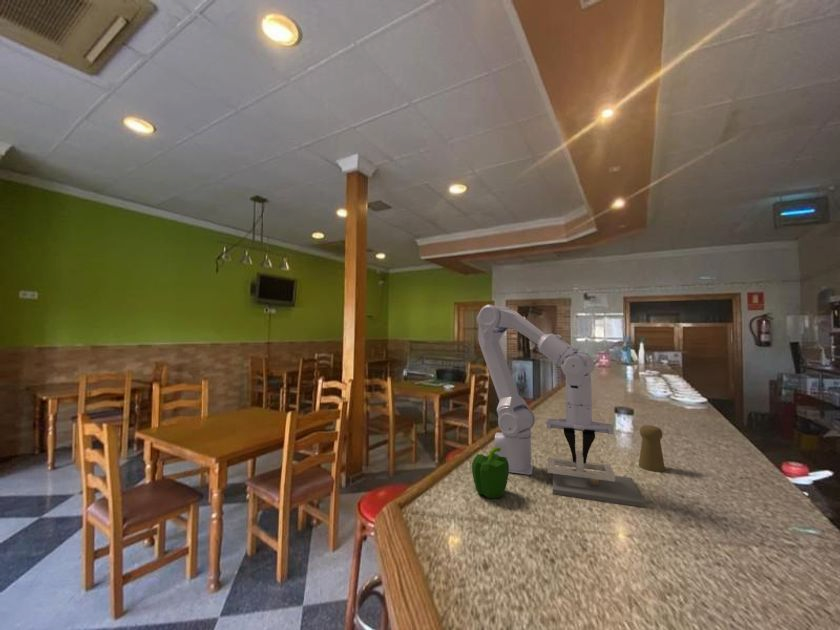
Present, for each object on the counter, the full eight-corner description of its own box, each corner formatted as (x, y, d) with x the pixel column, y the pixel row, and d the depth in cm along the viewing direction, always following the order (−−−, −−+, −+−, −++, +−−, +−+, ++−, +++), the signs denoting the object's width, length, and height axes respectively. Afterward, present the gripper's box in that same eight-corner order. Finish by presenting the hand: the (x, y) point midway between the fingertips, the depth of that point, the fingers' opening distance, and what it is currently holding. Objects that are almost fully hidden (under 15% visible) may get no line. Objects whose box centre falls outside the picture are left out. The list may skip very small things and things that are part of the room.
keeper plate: (552, 493, 83) (552, 478, 83) (552, 471, 96) (552, 458, 96) (645, 507, 76) (644, 491, 77) (631, 481, 90) (631, 468, 90)
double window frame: (547, 472, 86) (547, 455, 86) (548, 462, 93) (548, 446, 94) (615, 481, 81) (614, 462, 81) (609, 469, 88) (609, 452, 89)
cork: (669, 472, 96) (668, 429, 96) (643, 470, 97) (642, 428, 98) (659, 464, 102) (658, 424, 102) (635, 462, 103) (634, 422, 103)
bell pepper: (478, 503, 78) (478, 455, 78) (467, 487, 86) (467, 443, 86) (516, 501, 79) (516, 453, 79) (501, 485, 87) (501, 442, 87)
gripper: (546, 404, 87) (546, 463, 86) (615, 409, 82) (616, 471, 81) (546, 399, 93) (547, 453, 93) (610, 403, 88) (611, 461, 88)
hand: (579, 461), depth 87 cm, fingers closed on double window frame
